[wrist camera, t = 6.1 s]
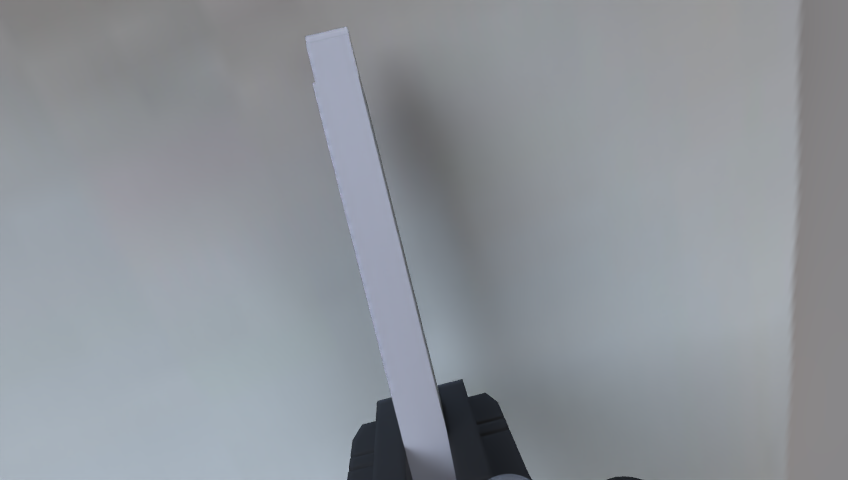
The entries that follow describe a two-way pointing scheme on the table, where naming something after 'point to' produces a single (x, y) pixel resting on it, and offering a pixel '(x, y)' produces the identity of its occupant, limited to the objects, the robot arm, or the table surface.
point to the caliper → (380, 254)
